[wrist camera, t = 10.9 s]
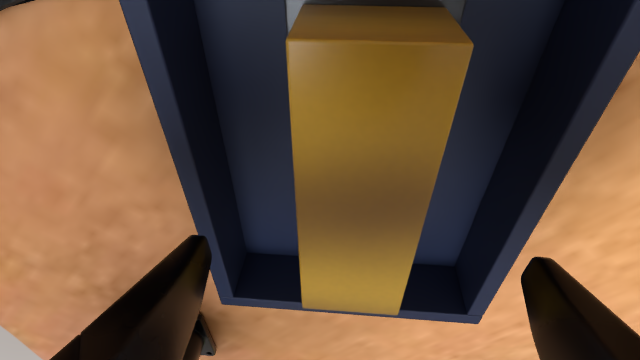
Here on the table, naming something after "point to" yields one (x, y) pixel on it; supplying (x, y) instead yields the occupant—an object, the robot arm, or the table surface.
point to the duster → (368, 139)
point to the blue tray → (457, 162)
